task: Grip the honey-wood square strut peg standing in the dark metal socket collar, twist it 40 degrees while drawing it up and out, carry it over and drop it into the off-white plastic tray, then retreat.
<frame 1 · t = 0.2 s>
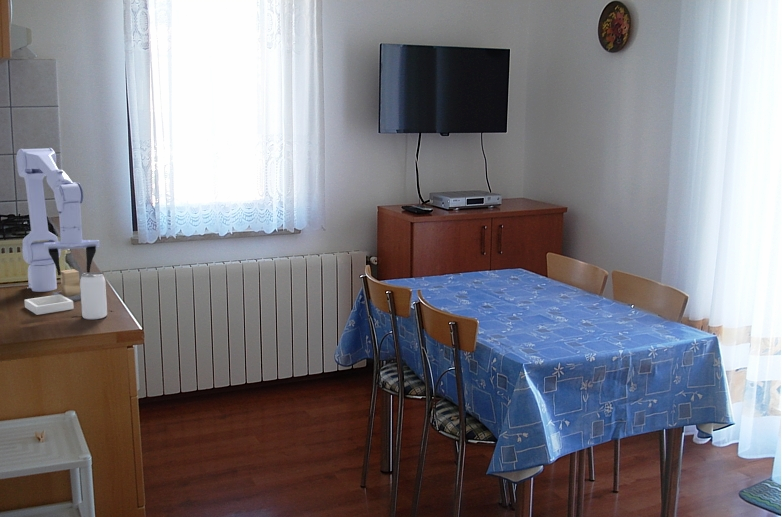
hand: (73, 273, 227), 10 cm above the table, tool pointing down, fingers open, 7 cm apart
bin tray: (49, 310, 225), on the table
strut peg: (71, 297, 237), point 1 cm above the table, touching stud socket
stud socket: (71, 300, 237), on the table
can: (94, 317, 220), on the table
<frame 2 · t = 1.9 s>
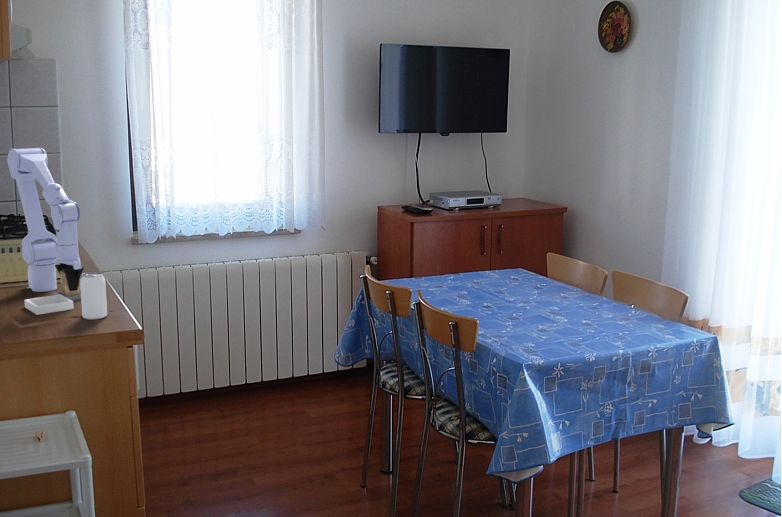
hand: (70, 289, 236), 3 cm above the table, tool pointing down, fingers closed on strut peg, 4 cm apart
strut peg: (71, 297, 237), point 1 cm above the table, touching gripper, stud socket
everything else where it was.
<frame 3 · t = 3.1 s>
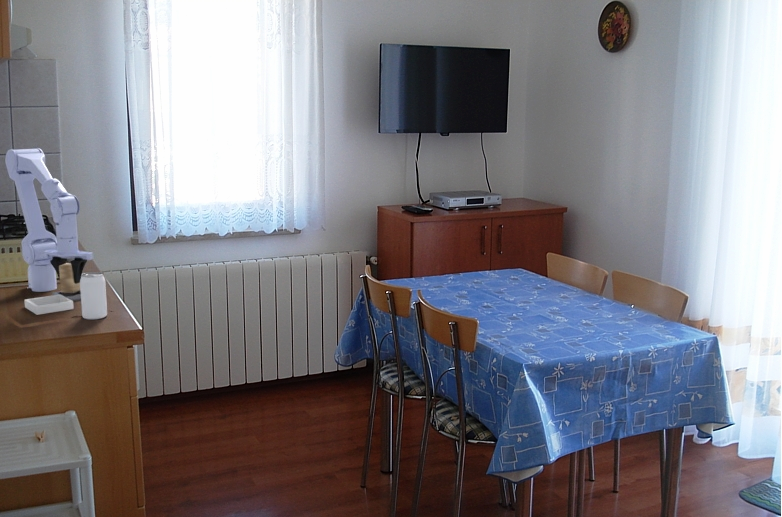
hand: (70, 282, 236), 5 cm above the table, tool pointing down, fingers closed on strut peg, 4 cm apart
strut peg: (70, 291, 236), point 3 cm above the table, touching gripper
everything else where it was.
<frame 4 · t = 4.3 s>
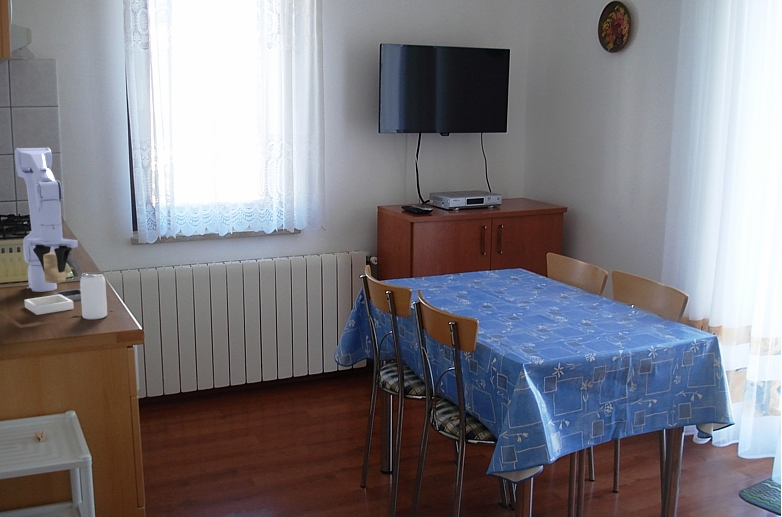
hand: (54, 271, 227), 11 cm above the table, tool pointing down, fingers closed on strut peg, 4 cm apart
strut peg: (55, 281, 228), point 8 cm above the table, touching gripper
everything else where it was.
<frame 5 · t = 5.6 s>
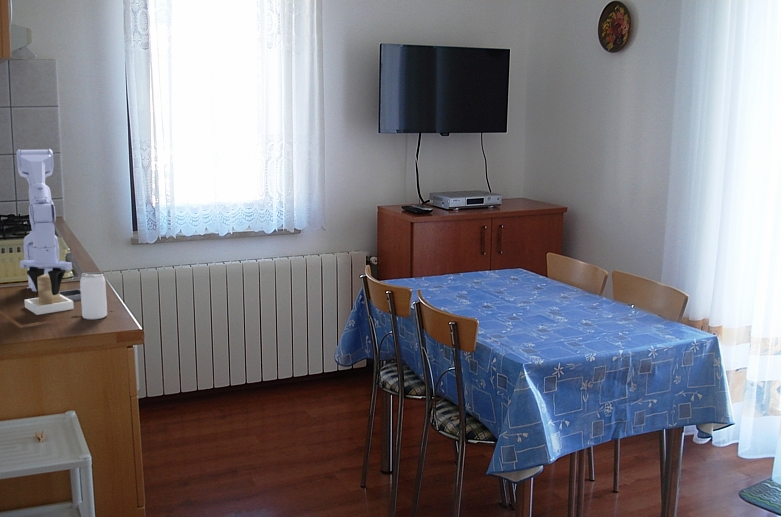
hand: (48, 293, 224), 5 cm above the table, tool pointing down, fingers closed on strut peg, 4 cm apart
strut peg: (49, 303, 225), point 2 cm above the table, touching gripper
everything else where it was.
when the fingers open (5 cm above the table, at t = 6.5 s): strut peg drops 1 cm, resting on bin tray.
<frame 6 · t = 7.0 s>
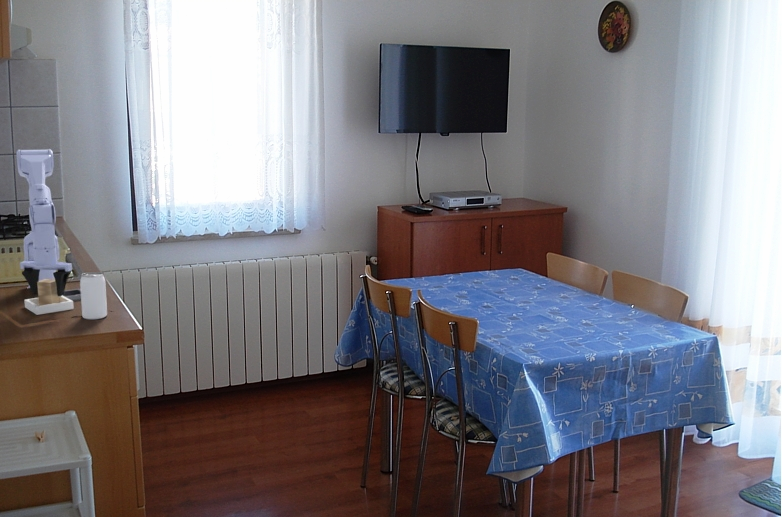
hand: (48, 294, 224), 5 cm above the table, tool pointing down, fingers open, 7 cm apart
strut peg: (50, 308, 225), point 1 cm above the table, touching bin tray
everything else where it was.
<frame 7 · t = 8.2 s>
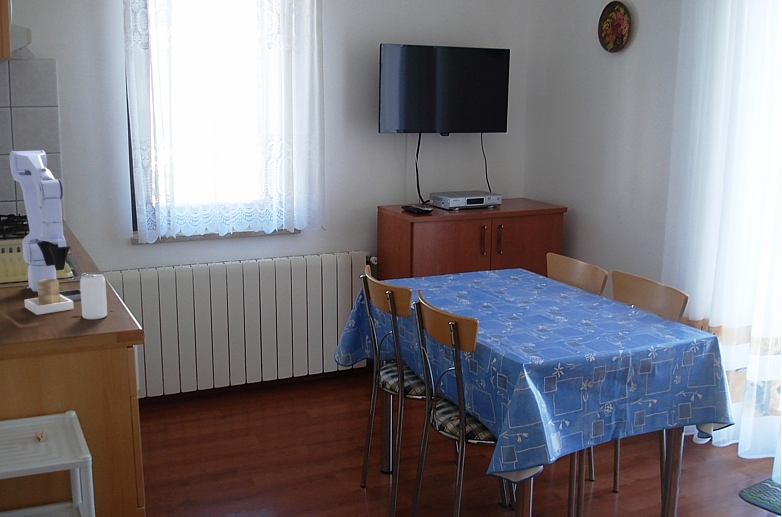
hand: (55, 267, 233), 10 cm above the table, tool pointing down, fingers open, 7 cm apart
nothing on the table moved.
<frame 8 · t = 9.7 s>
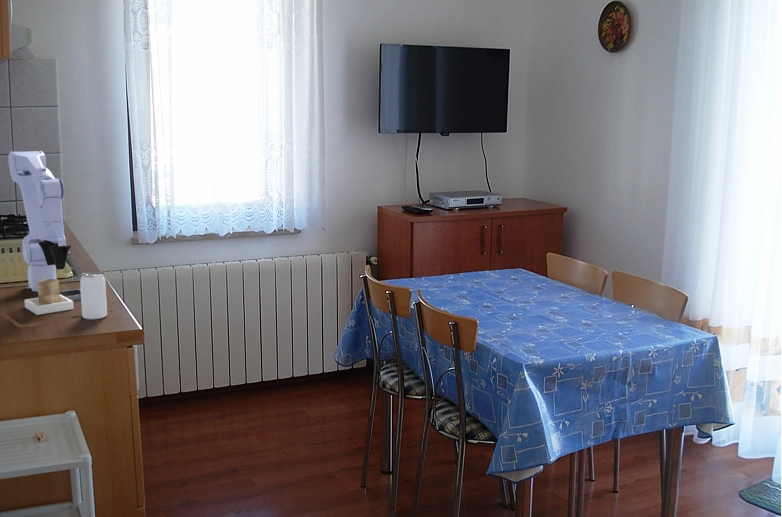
hand: (55, 267, 233), 10 cm above the table, tool pointing down, fingers open, 7 cm apart
nothing on the table moved.
at the end: strut peg 0.4 cm off-centre on the bin tray, point 0.6 cm above the bin tray's base; strut peg tilted 0°; the gripper is holding nothing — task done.
